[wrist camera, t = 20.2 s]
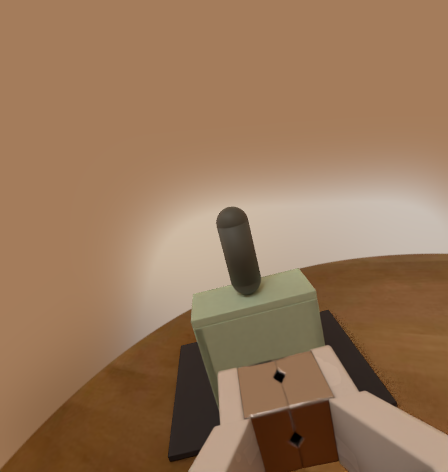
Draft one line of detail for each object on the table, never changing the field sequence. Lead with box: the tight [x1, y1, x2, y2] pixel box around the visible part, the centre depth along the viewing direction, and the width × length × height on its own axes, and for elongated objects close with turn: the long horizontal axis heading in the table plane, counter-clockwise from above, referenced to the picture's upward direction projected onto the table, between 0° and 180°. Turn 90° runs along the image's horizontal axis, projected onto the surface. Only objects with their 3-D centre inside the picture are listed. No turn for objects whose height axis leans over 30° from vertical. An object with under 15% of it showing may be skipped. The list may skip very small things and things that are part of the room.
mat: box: [168, 310, 397, 461], centre depth 27 cm, size 16×12×1 cm
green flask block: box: [191, 207, 325, 409], centre depth 21 cm, size 4×8×15 cm, turn 94°
